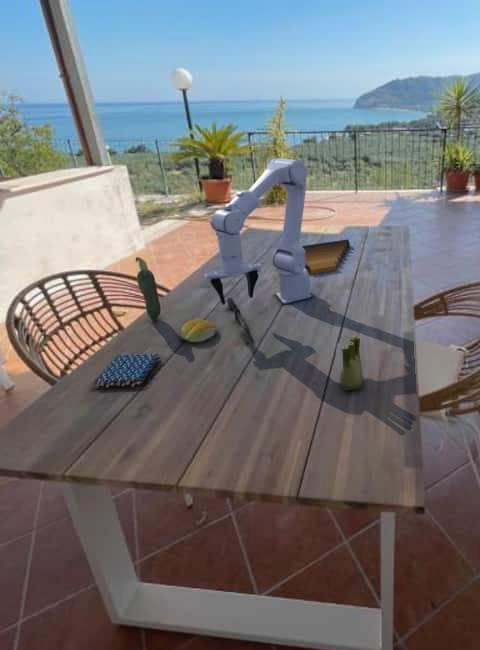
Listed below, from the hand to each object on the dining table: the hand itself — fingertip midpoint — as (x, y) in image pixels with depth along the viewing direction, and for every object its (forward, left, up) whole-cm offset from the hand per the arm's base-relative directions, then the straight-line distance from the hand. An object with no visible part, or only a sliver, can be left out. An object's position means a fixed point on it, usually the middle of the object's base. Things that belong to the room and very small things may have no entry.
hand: (237, 299), depth 109 cm
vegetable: (+21, -14, -8) cm, 27 cm away
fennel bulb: (-15, +39, -8) cm, 43 cm away
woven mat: (+28, +9, -8) cm, 31 cm away
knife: (0, 0, -8) cm, 8 cm away
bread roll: (+11, 0, -8) cm, 14 cm away
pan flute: (-45, -33, -8) cm, 56 cm away
